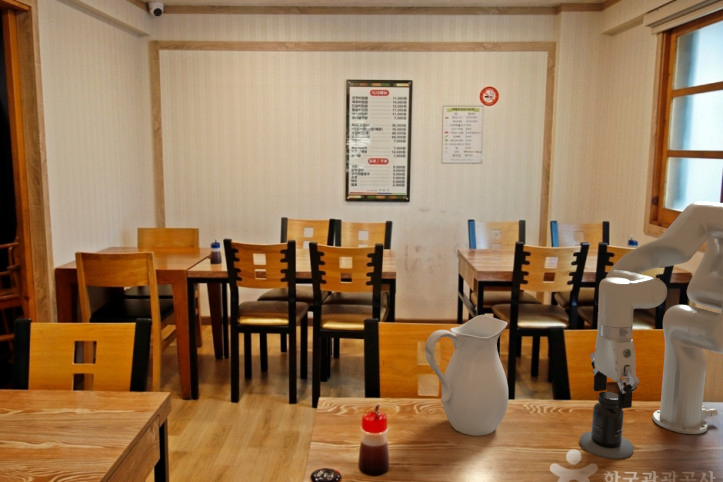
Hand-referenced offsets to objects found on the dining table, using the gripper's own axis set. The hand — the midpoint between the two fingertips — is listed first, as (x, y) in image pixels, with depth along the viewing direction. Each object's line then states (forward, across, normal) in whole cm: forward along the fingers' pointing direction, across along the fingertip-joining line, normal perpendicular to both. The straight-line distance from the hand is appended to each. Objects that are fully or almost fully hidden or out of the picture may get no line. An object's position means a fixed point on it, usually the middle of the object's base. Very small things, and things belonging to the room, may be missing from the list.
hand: (611, 398), depth 140 cm
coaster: (+12, 0, +1) cm, 12 cm away
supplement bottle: (+11, 0, +1) cm, 11 cm away
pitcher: (+11, +15, +32) cm, 37 cm away
